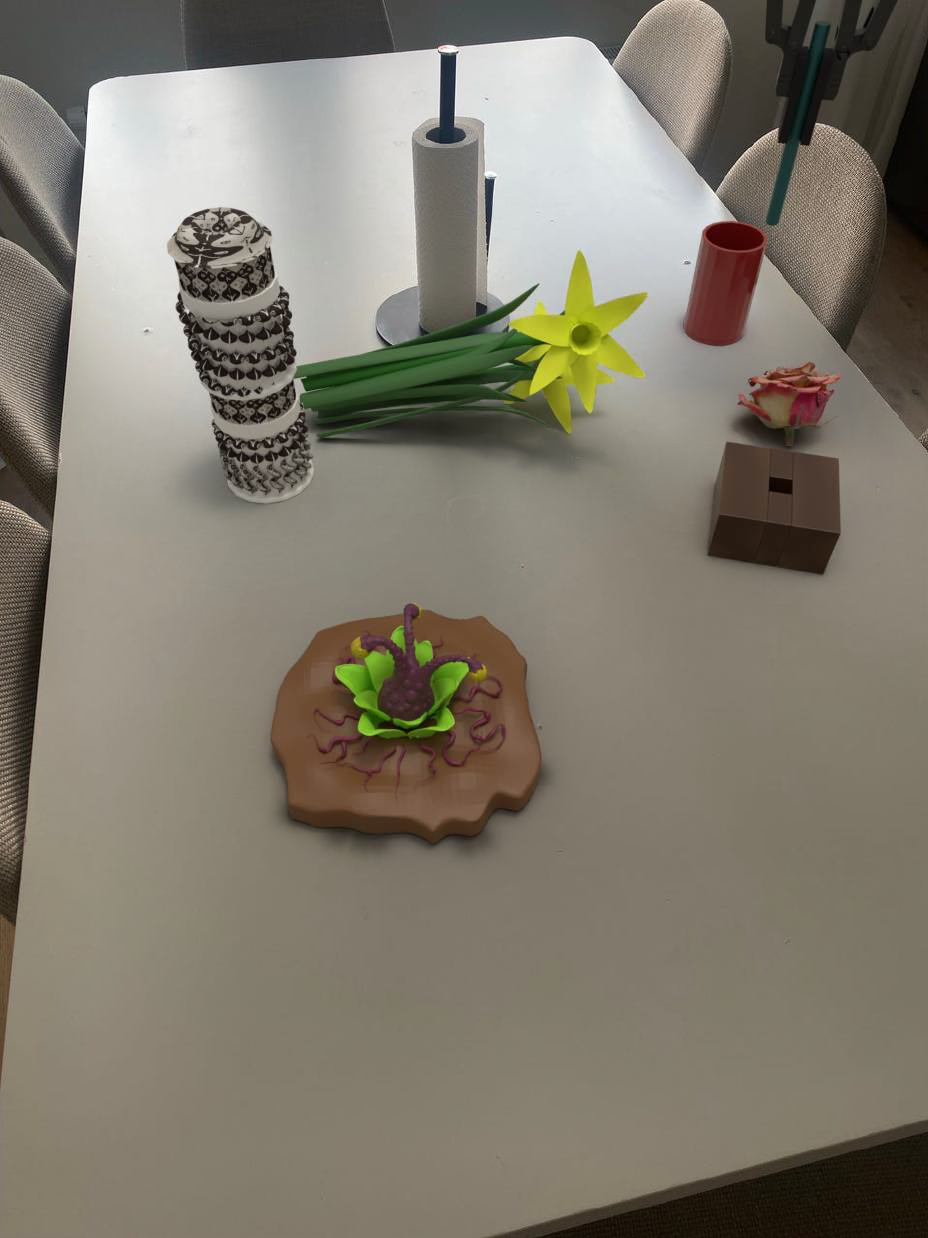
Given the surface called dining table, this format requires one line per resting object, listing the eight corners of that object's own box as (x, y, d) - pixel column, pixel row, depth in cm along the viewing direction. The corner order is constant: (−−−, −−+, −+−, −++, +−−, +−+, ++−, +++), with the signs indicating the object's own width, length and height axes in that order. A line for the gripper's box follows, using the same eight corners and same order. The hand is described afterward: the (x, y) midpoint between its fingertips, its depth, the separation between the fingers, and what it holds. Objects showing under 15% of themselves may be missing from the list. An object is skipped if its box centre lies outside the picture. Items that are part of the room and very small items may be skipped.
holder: (822, 499, 86) (839, 457, 82) (823, 574, 80) (841, 533, 76) (715, 482, 87) (726, 441, 84) (707, 555, 81) (719, 513, 77)
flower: (856, 444, 88) (861, 359, 86) (781, 449, 85) (785, 361, 83) (786, 442, 97) (789, 365, 95) (715, 447, 94) (717, 367, 92)
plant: (283, 633, 75) (260, 536, 67) (518, 619, 76) (524, 522, 68) (267, 857, 62) (235, 772, 54) (550, 838, 63) (562, 751, 55)
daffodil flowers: (335, 364, 102) (651, 299, 93) (342, 490, 99) (668, 436, 91) (262, 292, 86) (636, 205, 77) (269, 441, 83) (656, 368, 74)
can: (745, 316, 106) (768, 224, 98) (742, 348, 102) (766, 255, 94) (686, 309, 107) (704, 217, 99) (681, 340, 103) (699, 247, 95)
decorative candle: (238, 518, 85) (170, 263, 65) (212, 459, 90) (142, 209, 71) (331, 489, 87) (292, 236, 68) (300, 434, 92) (255, 185, 73)
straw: (778, 220, 84) (831, 20, 72) (778, 226, 83) (831, 25, 71) (765, 218, 84) (815, 19, 72) (764, 225, 83) (815, 24, 71)
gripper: (997, -244, 61) (877, 127, 79) (780, -250, 63) (711, 113, 81) (1014, -227, 57) (882, 164, 74) (779, -234, 59) (706, 148, 77)
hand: (793, 137), depth 78 cm, fingers closed on straw
